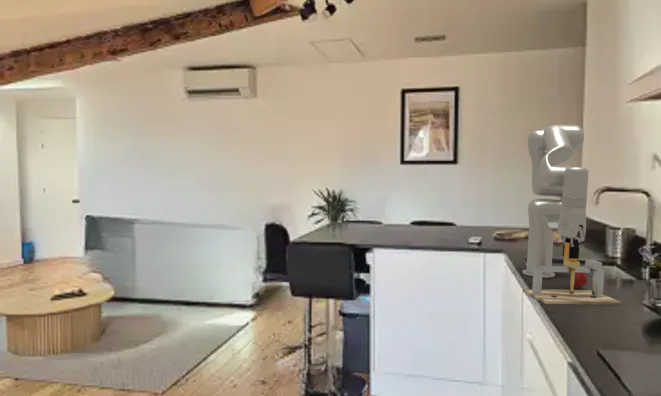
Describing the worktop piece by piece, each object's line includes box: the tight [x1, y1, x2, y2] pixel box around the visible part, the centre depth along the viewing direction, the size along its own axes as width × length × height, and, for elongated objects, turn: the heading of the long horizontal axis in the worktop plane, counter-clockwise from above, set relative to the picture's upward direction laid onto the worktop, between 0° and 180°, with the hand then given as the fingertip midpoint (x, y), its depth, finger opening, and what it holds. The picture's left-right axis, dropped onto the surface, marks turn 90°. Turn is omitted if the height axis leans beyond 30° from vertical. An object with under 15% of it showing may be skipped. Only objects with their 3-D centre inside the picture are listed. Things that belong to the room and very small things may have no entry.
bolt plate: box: [522, 288, 622, 306], centre depth 180 cm, size 16×26×1 cm, turn 95°
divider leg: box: [563, 242, 581, 294], centre depth 178 cm, size 5×3×17 cm, turn 5°
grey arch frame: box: [531, 259, 606, 297], centre depth 178 cm, size 5×24×12 cm, turn 95°
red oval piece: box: [569, 272, 588, 290], centre depth 195 cm, size 6×6×8 cm
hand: (570, 256), depth 179 cm, fingers closed on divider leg, 3 cm apart
